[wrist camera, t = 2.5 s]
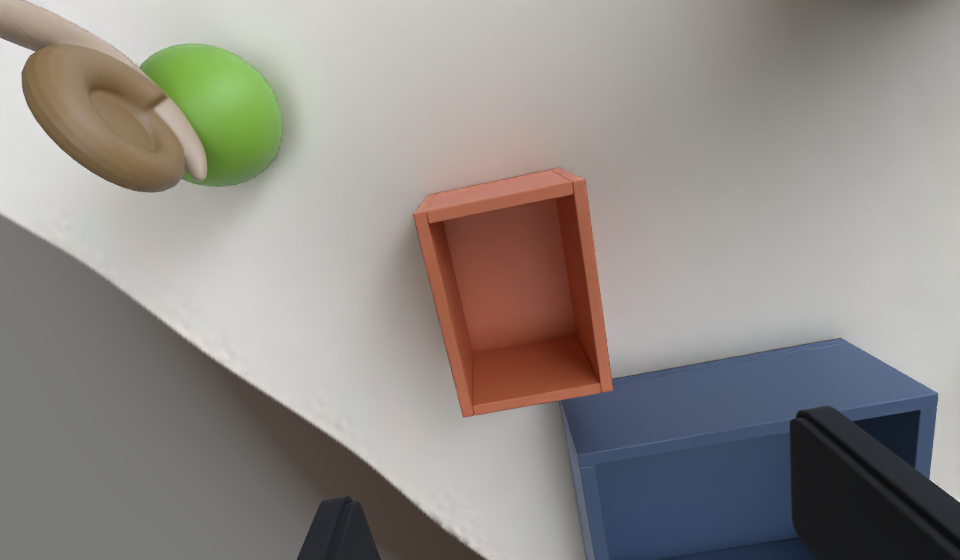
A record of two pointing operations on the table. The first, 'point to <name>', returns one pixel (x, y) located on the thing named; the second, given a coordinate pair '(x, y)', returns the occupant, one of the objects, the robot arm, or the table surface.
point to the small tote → (516, 290)
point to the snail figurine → (144, 105)
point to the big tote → (725, 449)
